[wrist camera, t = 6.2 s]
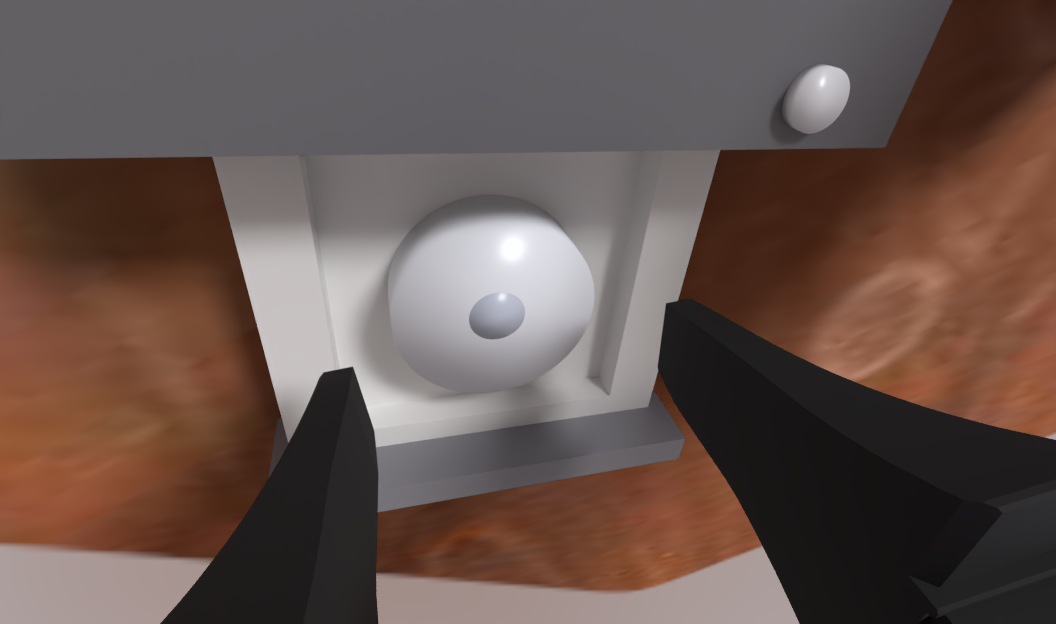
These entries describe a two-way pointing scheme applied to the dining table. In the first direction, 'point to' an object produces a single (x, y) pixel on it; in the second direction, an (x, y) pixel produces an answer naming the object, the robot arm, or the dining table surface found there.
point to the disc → (488, 294)
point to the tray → (365, 326)
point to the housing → (453, 75)
